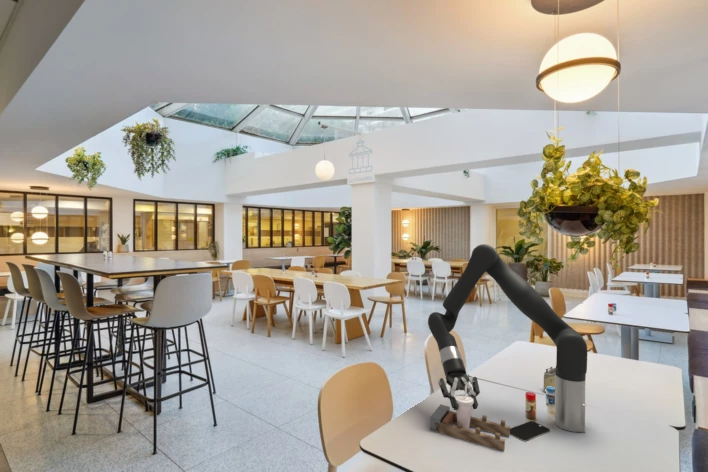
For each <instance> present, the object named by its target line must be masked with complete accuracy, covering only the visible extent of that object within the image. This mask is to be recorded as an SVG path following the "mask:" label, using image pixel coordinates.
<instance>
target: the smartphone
mask: <svg viewBox="0 0 708 472" xmlns="http://www.w3.org/2000/svg"><path fill="white" fill-rule="evenodd" d="M550 432H551V429H550V428H549V427H546V426H544V425H542V424H541V423H538V422H536V421H534V420H533V421H532V420H530V421H528V422H525V423H522V424H519V425H516V426H514V427H510V436H512V437H514V438H515V439H517V440H519V441H521V442H523V443H524V442H525V443H526V442H529V441H532V440H534V439H535V438H538V437H541V436H544V435H545V434H548V433H550Z"/></svg>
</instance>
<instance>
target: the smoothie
mask: <svg viewBox="0 0 708 472" xmlns="http://www.w3.org/2000/svg"><path fill="white" fill-rule="evenodd" d="M454 397H455V398H456V402H457V405H458V409H457V410H455V412H456V413H457V422H460V423H462V428H465V429H469V430H470V427H469V425H470V418H471V417H472V410H473V406H472V404H473V403H474V400H473V398H472V397H470V396H469V395H468V394H467V386H465V391H464V394H455V395H454Z"/></svg>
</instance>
